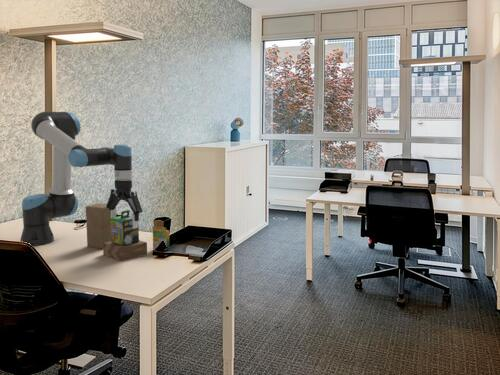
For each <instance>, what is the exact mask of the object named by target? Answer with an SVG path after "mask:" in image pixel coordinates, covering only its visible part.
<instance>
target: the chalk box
mask: <svg viewBox="0 0 500 375" xmlns="http://www.w3.org/2000/svg"><path fill="white" fill-rule="evenodd" d="M130 212H131V211H130V210H129V209H128V210H123V211H121V214H120V216H116V217H114V218H111V242H112V243H116V244H120V245H123V246H124V245H127V244H132V243H136V242H139V240H140V237H139V236H140V234H139V233H140V232H139V230H140V229H139V223H138V228H134V229H133V224H132V215H130Z"/></svg>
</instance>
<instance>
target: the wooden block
mask: <svg viewBox="0 0 500 375" xmlns="http://www.w3.org/2000/svg"><path fill="white" fill-rule="evenodd" d="M106 205H107V203H104V202H103V203H102V202H100V203H95V204H94V203H93V204H89V205H86V206H85V219H86V242H87V243H86V246H87V248H92V249H93V248H94V249H100V250H103V243H104V242H109V241H111V217H110V210H109V208H106ZM114 210H115V209H114Z"/></svg>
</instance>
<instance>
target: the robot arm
mask: <svg viewBox="0 0 500 375" xmlns="http://www.w3.org/2000/svg"><path fill="white" fill-rule="evenodd" d="M30 126H31V130H32V132H33V134H34V135H35V136H36V137H38V138H39V139H41V140H44V141H47V142H48V143H49V144H51V145H52V146H53V150H52V151H53V152H52V154H53V156H52V158H53V159H52V188H51V189H50V190H49V191H48V192H49V195H48V194H46V193H36V194H31V195H27V196H26V197H24V198H23V199H22V202H21V210H22V222H23V229H22V233H21V235H20V242H21V241H23V242H27V243H30V244H31V245H30V246H40V245H41V246H42V245H47V244H50V243H52V242H53V241H54V240H55V237H54V233H53V231H52V229H51V226H50V220H51V219H57V218H63V217H64V218H65V217H68V216H72V215H74V214H75V213H76V212H77V210H78V207H79V199H78V196H77V195H76V193H75V192H74V190H73V189H72V188H71V186H72V183H71V182H72V167H74V168H85V167H94V166H95V167H97V166H107V165H110V166H114V168H113V170H114V172H113V173H114V179H115V180H114V188H111V189H110V194H109V197H108V201H107V203H106V204H107V205H106V208H109V210H110V217H111V218H114V217H117V209H116V208H117V206H118V204H119V203H120V201H123V202H126V203H127V204H128V206H129V208H130V209H131V211H132V212H133V213H132V214H131V216H132V224H133V229H134V228H138V224H139V221H140V213H143V212H144V211H143V208H142V205H141V202H140V200H139V198H138V192H137V190H134V191H132V188H133V180H132V179H133V168H132V167H133V166H132V162H133V158H132V155H133V153H132V147H131V145H130V144H115V145H113V148H112V147H106V146H105V147H99V148H86V146H83V145H82V144H80V143H79V142H78V141H77V140H76V136H78V135H80V132H81V129H82V128H81V126H82V125H81V121H80V119H79V118H78V116H77V115H76V114H75V113H73V112H69V111H41V112H39V113H37V114H36V115H35V116H33V118H32V120H31V123H30ZM114 209H115V210H114Z"/></svg>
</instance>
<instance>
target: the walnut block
mask: <svg viewBox="0 0 500 375" xmlns="http://www.w3.org/2000/svg"><path fill="white" fill-rule="evenodd" d="M102 250H103V251H102V254H103V256H106V257H108V258H112V259H114V260H116V261H119V262H122V261H126V260H130V259H134V258H139V257H143V256H147V255H148V242H146V241H143V240H140V239H139V242H136V243H132V244H127V245H124V246H123V245H120V244H116V243H112V242H111V241H109V242H104V243H103V249H102Z"/></svg>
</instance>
